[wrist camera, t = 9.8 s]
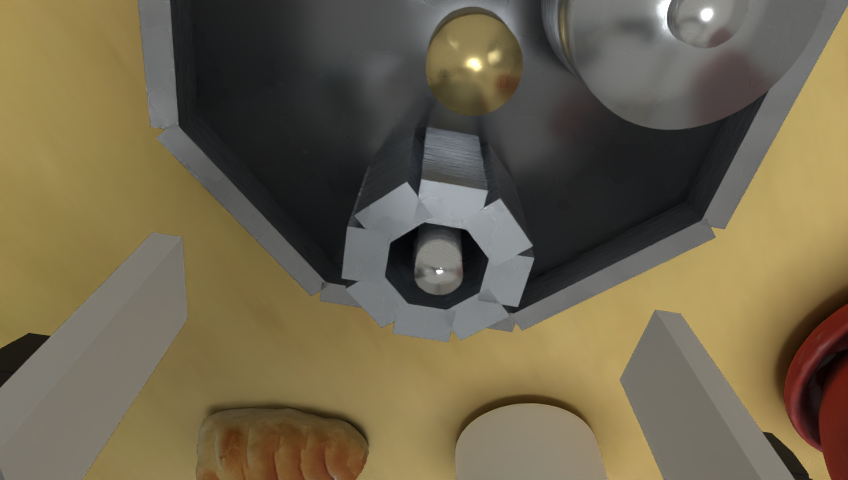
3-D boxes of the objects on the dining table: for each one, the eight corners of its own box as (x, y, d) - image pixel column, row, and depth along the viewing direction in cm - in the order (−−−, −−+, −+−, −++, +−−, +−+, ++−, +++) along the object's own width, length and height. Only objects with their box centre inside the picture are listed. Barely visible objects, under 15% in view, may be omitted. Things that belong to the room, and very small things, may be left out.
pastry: (358, 392, 29) (347, 451, 25) (379, 468, 32) (372, 528, 29) (200, 404, 30) (169, 462, 26) (237, 476, 33) (214, 535, 30)
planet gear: (374, 116, 19) (353, 167, 15) (529, 145, 19) (553, 202, 15) (357, 250, 22) (336, 324, 18) (491, 272, 22) (503, 350, 18)
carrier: (187, 246, 24) (99, 348, 18) (136, -491, 13) (-141, -882, 7) (638, 321, 25) (699, 440, 19) (945, -291, 14) (1325, -468, 8)
